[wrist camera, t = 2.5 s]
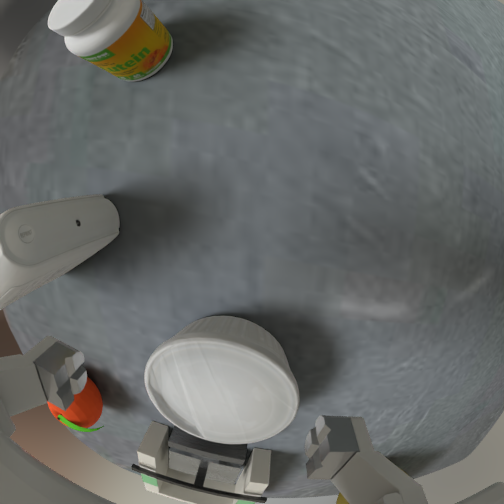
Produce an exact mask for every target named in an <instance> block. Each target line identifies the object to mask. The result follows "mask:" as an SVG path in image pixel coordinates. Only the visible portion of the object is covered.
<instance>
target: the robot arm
mask: <svg viewBox="0 0 504 504" xmlns="http://www.w3.org/2000/svg"><path fill="white" fill-rule="evenodd" d="M84 361H85V360H84V355H83V353H82V352H80V351H78V350H76V349H74V348H73V347H71V346H69V345H67V344H65V343H63V342H62V341H59V340H58V339H56V338H54V337H52V336H47V337H46V338H44V339H43V340H42V341H41V342H39V343H38V344H37V345H36V346H34V347H33V348H32V349H31V350H29V351H28V352H27V353H26V354H25V355H23V356H22V355H21V354H19V355H13V356H7V357H1V358H0V504H115V503H113V502H111V501H109V500H106V499H104V498H102V497H100V496H98V495H96V494H94V493H92V492H90V491H88V490H86V489H84V488H82V487H81V486H79V485H77V484H75V483H73V482H72V481H70V480H68V479H67V478H65V477H63V476H62V475H60V474H58V473H57V472H55V471H54V470H52V469H51V468H49V467H48V466H46V465H45V464H43V463H42V462H40V461H39V460H37V459H36V458H35V457H33V456H32V455H31V454H29V453H28V452H27V451H25V450H24V449H23V448H21V447H20V446H19V445H18V444H17V443H15V442H14V441H13V440H12V439H10V438H9V437H10V436H11V435H12V434H13V432H14V431H15V430H16V429H15V425H14V423H13V422H12V420H11V418H10V416H13V415H16V414H18V413H21V412H24V411H26V410H29V409H32V408H34V407H37V406H39V405H42V404H44V403H47V401H48V402H50V403H52V404H53V405H55V406H57V407H59V408H60V409H62V410H64V411H66V410H67V409H68V407H69V406H70V405H71V404H72V402H73V401H74V394H78V393H80V392H81V391H82V390H83V389H84V387H85V384H86V381H87V372H86V369H85V368H84V366H83V365H82V363H83V362H84ZM315 425H316V427H315V428H313V429H311V430H310V431H309V433H308V435H307V438H306V441H305V454H306V455H307V456H308V457H309V458H310V459H309V461H308V462H307V463H306V468H307V479H331V481H332V483H333V484H334V485H335V486H336V488H337V489H338V490H339V491H340V493H341V494H342V495H343V496H344V498H345V499H346V500H347V501H348V502H349V504H428V502H427V499H426V497H425V494H424V491H423V488H422V486H421V485H420V484H419V483H417V482H416V481H415V480H413V479H412V478H411V477H410V476H408V475H407V474H406V473H405V472H403V471H402V470H401V469H399V468H398V467H397V466H396V465H395V464H393V463H392V462H391V461H390V460H388V459H387V458H386V457H385V456H384V455H382V454H381V453H380V452H379V451H374V448H373V445H372V442H371V439H370V436H369V433H368V430H367V427H366V424H365V421H364V419H363V418H362V417H347V416H325V415H320V416H319V417H318V418H317V420H316V421H315ZM455 504H504V483H503V482H497V483H495V484H493V485H491V486H489V487H487V488H485V489H483V490H482V491H480V492H478V493H476V494H474V495H472V496H470V497H468V498H466V499H464V500H462V501H460V502H457V503H455Z"/></svg>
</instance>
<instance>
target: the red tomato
mask: <svg viewBox="0 0 504 504" xmlns="http://www.w3.org/2000/svg"><path fill="white" fill-rule="evenodd" d="M47 403H48V406H49V408H50V411H51V412H52V414H53V415H54V416H55V418H56V419H57V420H59V421H60V422H61V423H62V424H64V425H66V426H68V427H70V428H72V429H75V430H78V431H84V432H92V431H96V430H98V429H100V428H102V427H103V426H102V427H100V428H97V429H88V427H90V426H92V425H93V424H95V423H96V422H97V420H98V419H99V418H100V416H101V413H102V407H103V402H102V398H101V394H100V391H99V390H98V388H97V386H96V385H95V383H94V382H93V381H92V380H91V379H90V378H88V377H87V381H86V384H85V387H84V389H83V390H82V391H81V392H80V393H78V394H74V401H73V402H72V404H71V405H70V406H69V407H68V409H67V410H66V411H64V410H62V409H60V408H59V407H57V406H55V405H53V404H52V403H50V402H48V401H47Z"/></svg>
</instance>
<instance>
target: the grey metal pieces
mask: <svg viewBox="0 0 504 504" xmlns="http://www.w3.org/2000/svg"><path fill="white" fill-rule="evenodd" d="M168 446H170V449H169V468H171V469H174V470H177V471H180V472H184V473H187V474H191V475H195V476H196V479H195V482H194V484H191V483H187V482H184V481H180V480H177V479H174V478H171V477H168V476H164V475H162V474H159V473H156V472H153V471H150V470H147V469H145V468H142V467H140V466H137V465H135V464H133V465H132V470H135V471H137V472H140V473H142V474H145V475H147V476H150V477H153V478H156V479H158V480H161V481H164V482H167V483H171V484H174V485H177V486H180V487H184V488H187V489H191V490H195V491H199V492H203V493H207V494H212V495H216V496H221V497H227V498H232V499H238V500H245V501H252V502H260V503H265V502H266V500H267V497H258V496H250V495H243V494H237V493H231V492H226V491H221V490H216V489H211V488H207V487H203V485H204V481H205V478H206V479H211V480H215V481H220V482H225V483H230V484H234V483H235V481H236V479H237V477H238V475H239V473H240V471H241V468H242V465H243V464H244V462H245V458H246V450H247V444H224V443H217V442H212V441H208V440H205V439H202V438H199V437H196V436H194V435H191V434H189V433H187V432H185V431H183V430H182V429H180V428H178V427H177V426H174V428H173V431H172V433H171V436H170V438H169V440H168Z"/></svg>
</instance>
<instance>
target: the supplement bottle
mask: <svg viewBox="0 0 504 504" xmlns="http://www.w3.org/2000/svg"><path fill="white" fill-rule="evenodd" d="M48 27H49V28H50V29H51V30H53V31H54V32H56V33H58V34H60V35H62V36H65V44H66V46H67V48H68V50H69V51H70V52H72V53H73V54H75V55H77V56H79V57H81V58H83V59H85V60H87V61H89V62H91V63H93V64H94V65H96V66H98V67H100V68H102V69H104V70H106V71H107V72H109V73H111V74H113V75H115V76H116V77H118V78H120V79H122V80H125V81H130V82H134V81H140V80H143V79H146V78H148V77H150V76H152V75H153V74H155V73H156V72H157V71H159V70H160V69H161V68H162V67H163V66H164V64H165V63H166V62H167V61H168V59H169V57H170V55H171V53H172V49H173V40H172V37H171V35H170V33H169V32H168V30H167V29H166V28H165V27H164V25H163V24H162V23H161V22H160V21H159V19H158V18H157V17H156V16H155V15H154V14H153V12H152V11H151V10H150V9H149V8H148V7H147V6H146V4H145V3H144V2H143V1H142V0H58V2H57V3H56V4H55V5H54V7H53V9H52V11H51V13H50V15H49V18H48Z"/></svg>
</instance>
